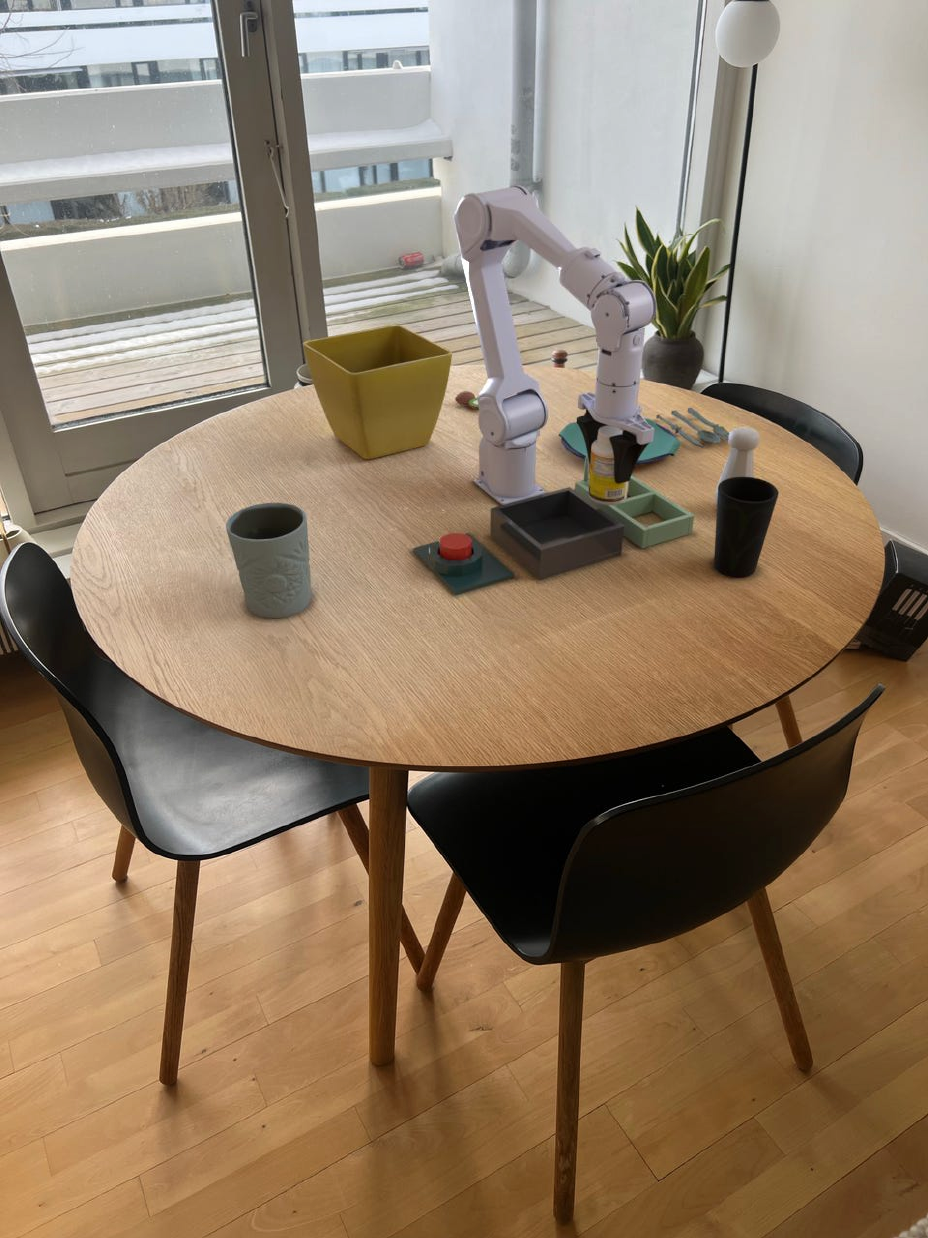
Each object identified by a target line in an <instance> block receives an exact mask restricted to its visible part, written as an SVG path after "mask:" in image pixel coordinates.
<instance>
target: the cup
mask: <svg viewBox="0 0 928 1238" xmlns="http://www.w3.org/2000/svg"><path fill="white" fill-rule="evenodd" d="M779 494H780V493H779V490H778V488H777V487H776V486H775V485H774V484H773V483H771V482H769V481H767V480H765V479H761V478H758V477H754V478H753V477H732V478H728V479H726V480H724V481H722V482H721V483H720V484H719V486H718V499H717V505H716V518H715V520H716V521H715V537H714V538H715V539H714V554H713V555H714V556H713V567H714V570H715V571H716V572H717V573H719V574H720V575H723V576H725V577H728V578H732V579H745V578H748V577H752V576H753V575H754V574H755V573H756V569H757V566H758V563H759V559H760V556H761V553H762V550H763V547H764V543H765V541H766V537H767V534H768V531H769V527H770V523H771V520H772V517H773V513H774V511H775V507H776V504H777V500H778V498H779Z"/></svg>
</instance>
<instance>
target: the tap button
mask: <svg viewBox="0 0 928 1238" xmlns="http://www.w3.org/2000/svg"><path fill="white" fill-rule="evenodd" d="M465 534H466V533H460V532H452V533H447V534H444V535H442V536H441V537H440V539H439V540H438V541H439V542H440V556H441V557H442V558H444V559H447V560H459V561H460V560H464V559H467V558H469V557H470V556H471V555H472V540H471V538H470V537H469V536H467V535H465Z"/></svg>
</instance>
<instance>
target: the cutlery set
mask: <svg viewBox="0 0 928 1238" xmlns="http://www.w3.org/2000/svg"><path fill="white" fill-rule="evenodd" d="M670 413H671V415H672V416H674V417H675V418H677V419H679V420H680V421H682V422H683V423H685V424H686V425H688V426H689V427H690V428H691V429H692V430H694V431H696V436H697V438H699V440H700V441H702V442H704V443H709V444H718V443H721V441H722V438H723V439H724V440H726V441H727V442H729V434H730V431H728V430H727V429H725V426H720V425H719V423H716V424H715V423H714V422H711V421H709V420H708V419H707V418H705V417H704V416H703V415H702V414H700V413H699V412H698V411H697V410H696V409H694V408H693V407H687V413H688V414H690V415H691V416H693V417H694V418H696V419H697V420H698V421H700V422H701V423H702V424H704V425H707V426H708V427H711V428H712V431H709V430H705V429H699V428H698V427H697V426H696V425H694V424H693V423H692V422H691V421H690V420H689V419H688V418H686V417H685V416H684V415H683V414H681V413H680V412H679V411H678V410H676V409H675V410H671V412H670ZM643 418H644V419H645V421H646V422H647V423H648V424H649V425H650V426H651V427H653V428H654V436H653V442H650V443H649V444H648V445H647V446H646V448H645V449H644V451H643V452H642V454H641V455H640V457H639V459H638V461H637V463H636V465H635V466H639V465H648V464H652V463H655V462H658V461H662V460H664V459H665V458H667V457H669V456H671V457H674V456H675V455H676V453H677V451H678V450H679V448H680V447H681V441H680V440H679V439H678V438H677V436H676V435H675V434H679V435H680V436H681V437H682V438H684V439H685V440H686V441H688V442H689V443H691V444H692V445H694V446H695V447H698V448H704V445H703V444H702V443H700V442H699V441H698V440H696V439H695V438H693V437H692V436H690V435H689V434H687V432H685V431H683V430H682V426H678V424H674V423H672V422H671V421H669V420H667V419H665V418H664V417H663V416H661V414H656V419H660V420H661V421H663V423H665V424H666V425H668V426H670V428H671V430H674V431H675V432H674V433H673V432H672V431H671V430H670V429H669V428H667V427H665V426H663V425H661V424H659V423H656V422H654V420H652V419H650V418H646V417H643ZM558 437H559V438H560V443H561V444H562V445H563V447H564V448H565V450H567V451H568V452H570V453H571V454H573V455H574V456H576V457H578V458H580V459H583V460H585V458H586V457H588V454H587V449H586V444H585V440H584V437H583V434H582V432H581V429H580V427H579V426H578V424H577V421H574V422H570V423H568V424H567V425H566V426H564V428H563V429H562V430H561V431H560V432H559V434H558Z"/></svg>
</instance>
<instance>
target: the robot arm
mask: <svg viewBox="0 0 928 1238" xmlns="http://www.w3.org/2000/svg"><path fill="white" fill-rule="evenodd" d="M452 219H453V224H454V229H455V232H456V238H457V241H458V246H459V247H458V248H459V251H460V255H461V262H462V267H463V271H464V277H465V281H466V284H467V289H468V294H469V298H470V303H471V307H472V312H473V316H474V321H475V326H476V330H477V331H476V332H477V335H478V340H479V344H480V349H481V353H482V357H483V362H484V367H485V371H486V376H487V381H486V383H485V384H484V385H483V387H482V389H481V390H480V392H479V393H478V395H477V397H476V398H477V400H478V405H479V409H478V418H477V421H478V428H479V430H480V433H481V434H482V437H481V439H480V442H479V445H478V478H475V479H474V480H473V483H474V484H476V485H477V486H478V487H479V488H480V489H482V490H483V491H484V492H485V493H486V494H488V495H489V496H490V497H491V498H493V499H494V500H495V501H496V502H497V503H499V504H500V506H501V505H505V504H508V503H512V502H516V501H520V500H523V499H527V498H531V497H535V496H538V495H542V494H546V490H544V489H543V488H542V487H541V486H540V485H538V484H537V483H536V460H537V438H538V437H540V436H541V429H543V428H544V427H545V426H546V425H547V423H548V420H549V407H548V404H547V402H546V399H545V397H544V396H543V394H542V392H541V389H540V384H539V381H538V380H537V379H536V378H534V377H532V376H531V375H529V374H528V373H526V372H525V371H524V367H523V361H522V357H521V352H520V347H519V342H518V337H517V333H516V327H515V323H514V319H513V313H512V308H511V303H510V299H509V294H508V290H507V285H506V279H505V274H504V269H503V266H502V263H503V261H504V259H505V257H506V255H507V253H508V252H509V250H510V249H511V248H512V247H513V246H514V245H515V244H516V243H517V242H518V241H521V242H522V243H523V244H524V245H525V246H527V247H528V248H529V249H531V251H533V252H535V253H536V254H537V255H538V256H540V257H541V258H542V259H544V260H545V261H546V262H548V263H549V264H550V265H551V266H553V267H554V268H555V269H557V270H558V281H559V283H560V285H561V286H562V287H563V288H564V289H565V290H566V291H567V292H569V293H570V295H572V296H573V297H574V298H575V299H576V300H577V301H579V302H580V303H581V304H582V305H583V306H584V307H585V308H586V309H588V311H590V318H591V322H592V325H593V327H594V329H595V332H596V333H595V335H596V336H595V342H596V345H597V347H598V349H597V361H596V375H595V387H594V393H592V391H590V392H585V393H581V394H578V395H577V396H578V398H577V400H578V401H577V409H579V410H581V411H584V410H585V412H584V415H580V416H577V417H576V422H577V424H578V426H579V427H580V429H581V432H582V434H583V437H584V440H585V444H586V449H587V454H588V459H589V465H590V460H591V446H592V444H593V442H594V441H596V440H597V439H598V438H597V436H598V430H599V429H600V428H601V427H603V426H608V425H610V426H613V427H616V428H619V429H621V430H622V431H623V433H622V435H621V434H620V435H616V436H612V437H609V441H610V443H611V446H612V449H613V454H614V479H615V482H616V483H617V484H620V483H624V482H627V481H630V478H631V475H632V476H633V473H634V470H635V468H636V466H637V465H636V463H637V461H638V459H639V457H640V455H641V454H642V452H643V451H644V449H645V448H646V446H647V445H648V444H649V443H650V442H653V436H654V428H653V427H651V426H650V425H649V424H648V423H647V422H646V421H645V419H644V418H645V417H644V416H643V415H642V414H641V413H642V412H643V406H641V405H639V404H638V403H639V401H638V400H639V393H640V380H641V373H642V363H643V353H644V342H645V333H646V327H647V326H649V325H650V324H651V323H652V322H653V321H654V319H655V317H656V314H657V308H658V304H657V298H656V296H655V293H654V291H653V290H652V288H651V287H650V286H649V285H648V284H647V282H646V281H645V280H641V279H634V280H631V279H629V278H628V277H626V276H625V275H624V274H623V273H622V272H619V271H617V270H616V269H615V268H614V267H613V266H611V265H610V264H609V263H608V261H606V260H605V259H603V257H601V255H602V252H601V251H599V250H598V248H596V247H592V248H591V247H588V246H582V247H579V248H577V247H576V246H575V245H574V244H573V243H572V242H571V241H570V240H569V239H568V237H566V235H564V233H563V232H561V231H560V229H558V227H557V226H556V225H555V224H554V223H553V222H552V220H550V219H549V218H548V217H547V216H546V215H545V214H544V213H543V212H542V211H541V210H540V206H539V201H538V198H537V197H536V196H535V195H533V194H532V193H530V192H529V190H528V189H527V187H526V188H525V186H523V185H520V184H514V185H510V186H508V187H504V188H498V189H492V190H488V191H482V192H477V193H475V192H471V193H470V192H469V193H466V194H465V195H463V196H462V197H461V199H460V200H459V202H458V204H457V207H456V209H455V211H454V213H453V216H452Z"/></svg>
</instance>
